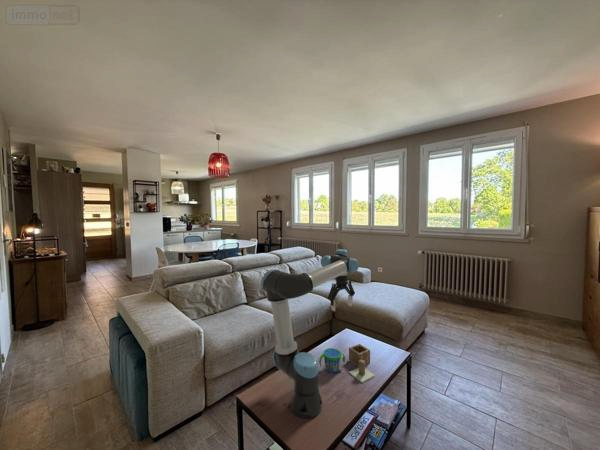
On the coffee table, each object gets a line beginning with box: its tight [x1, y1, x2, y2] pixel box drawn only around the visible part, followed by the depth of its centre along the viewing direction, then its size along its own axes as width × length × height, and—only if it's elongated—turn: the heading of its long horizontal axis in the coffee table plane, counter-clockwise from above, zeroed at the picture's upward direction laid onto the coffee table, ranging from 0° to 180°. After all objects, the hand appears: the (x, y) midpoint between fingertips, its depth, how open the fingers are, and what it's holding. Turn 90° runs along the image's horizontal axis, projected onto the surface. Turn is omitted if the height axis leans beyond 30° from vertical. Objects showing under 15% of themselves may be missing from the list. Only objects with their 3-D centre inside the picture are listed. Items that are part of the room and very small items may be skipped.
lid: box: [348, 360, 376, 384], centre depth 143 cm, size 10×10×8 cm
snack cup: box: [318, 347, 346, 374], centre depth 148 cm, size 16×10×10 cm
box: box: [348, 343, 371, 368], centre depth 155 cm, size 9×9×8 cm
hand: (341, 308), depth 157 cm, fingers open, 13 cm apart
